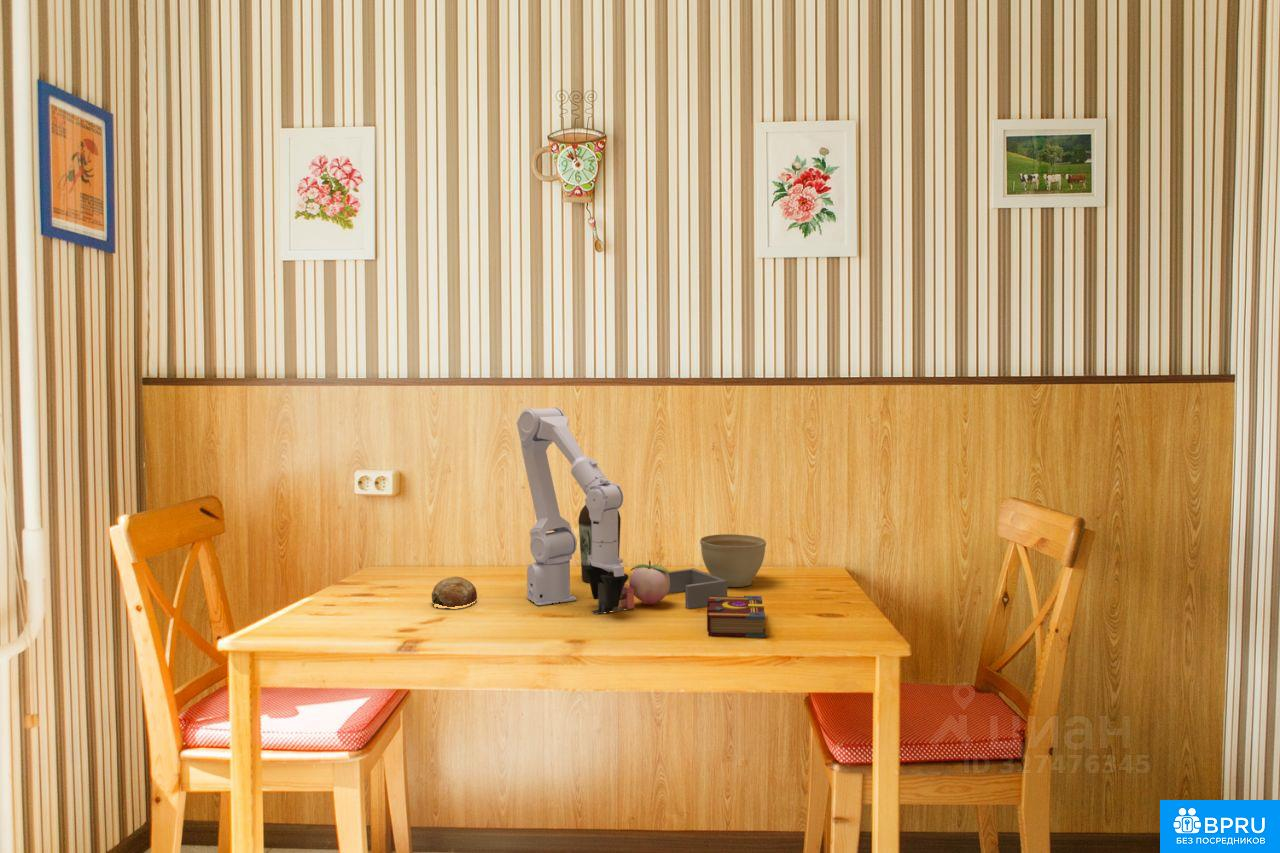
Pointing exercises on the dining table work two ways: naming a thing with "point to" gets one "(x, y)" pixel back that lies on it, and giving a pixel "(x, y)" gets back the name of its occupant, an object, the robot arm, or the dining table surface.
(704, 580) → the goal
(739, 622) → the decorative book
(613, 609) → the rail strip
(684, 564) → the dining table surface
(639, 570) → the decorative fruit
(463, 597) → the bread roll
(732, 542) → the planter bowl
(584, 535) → the olive oil
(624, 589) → the kicker rod
